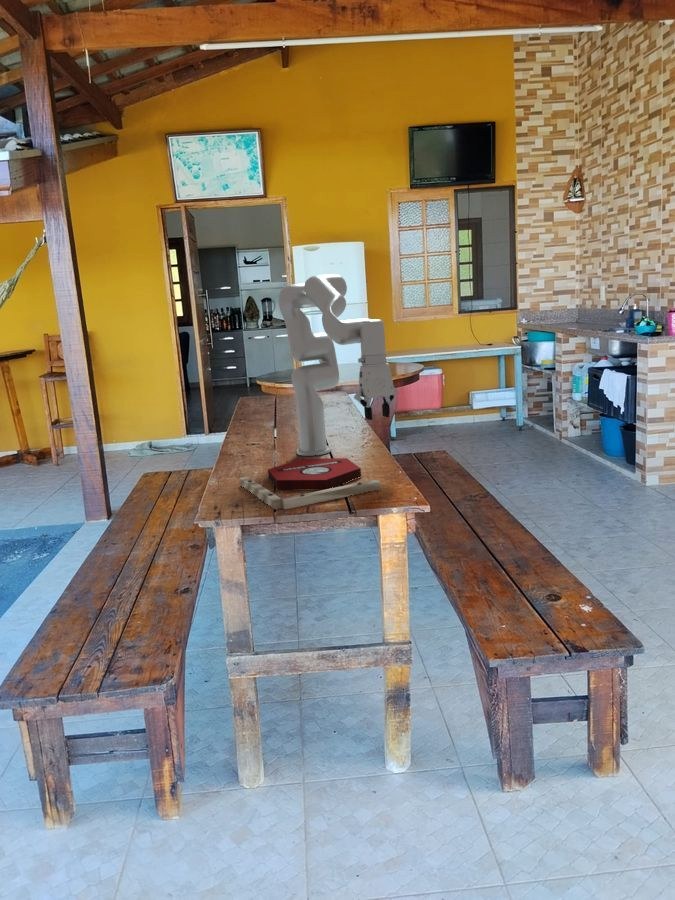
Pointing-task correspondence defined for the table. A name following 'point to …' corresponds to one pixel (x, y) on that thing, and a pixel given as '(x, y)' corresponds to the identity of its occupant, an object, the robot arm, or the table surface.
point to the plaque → (313, 473)
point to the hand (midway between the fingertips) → (377, 417)
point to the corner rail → (309, 497)
